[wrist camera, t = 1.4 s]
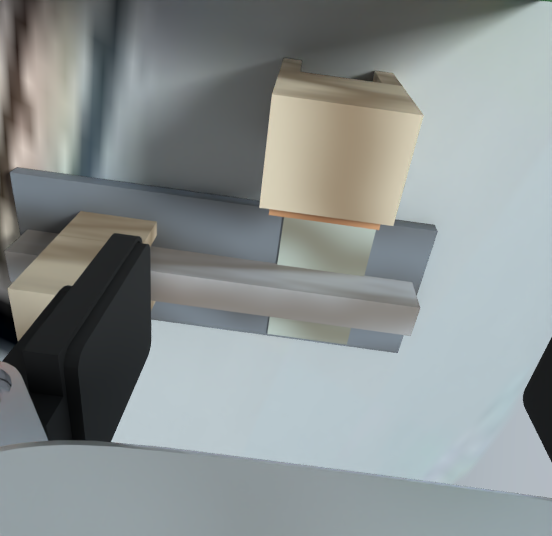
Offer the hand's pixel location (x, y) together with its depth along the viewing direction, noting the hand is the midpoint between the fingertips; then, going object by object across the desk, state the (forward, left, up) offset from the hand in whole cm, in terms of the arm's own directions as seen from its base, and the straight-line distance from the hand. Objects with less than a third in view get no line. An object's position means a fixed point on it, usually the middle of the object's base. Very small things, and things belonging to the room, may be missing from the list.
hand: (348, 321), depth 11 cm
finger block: (0, 0, -17) cm, 17 cm away
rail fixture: (+10, -5, -17) cm, 20 cm away
